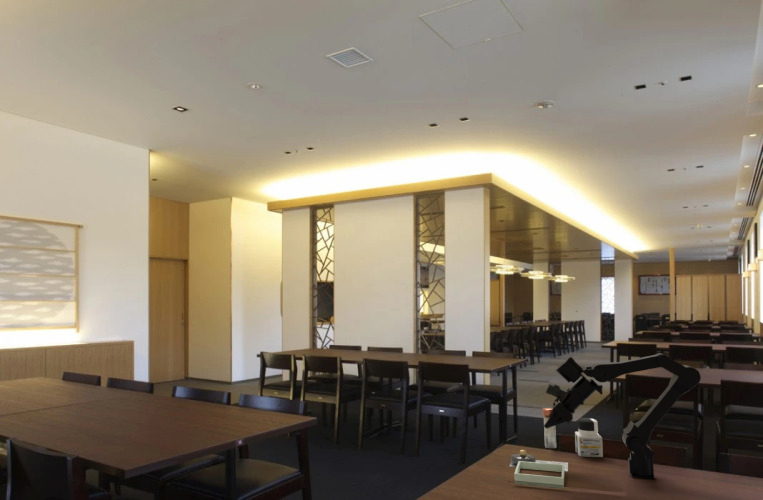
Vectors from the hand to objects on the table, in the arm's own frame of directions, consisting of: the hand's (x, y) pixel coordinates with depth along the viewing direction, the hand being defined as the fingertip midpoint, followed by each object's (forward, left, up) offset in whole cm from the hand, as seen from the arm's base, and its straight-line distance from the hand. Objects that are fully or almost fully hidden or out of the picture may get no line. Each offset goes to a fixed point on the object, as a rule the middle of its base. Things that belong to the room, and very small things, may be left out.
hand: (545, 425), depth 178 cm
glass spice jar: (-1, 0, -7) cm, 7 cm away
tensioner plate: (+2, 0, -14) cm, 14 cm away
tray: (+1, +12, -14) cm, 18 cm away
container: (-14, -19, -14) cm, 27 cm away
